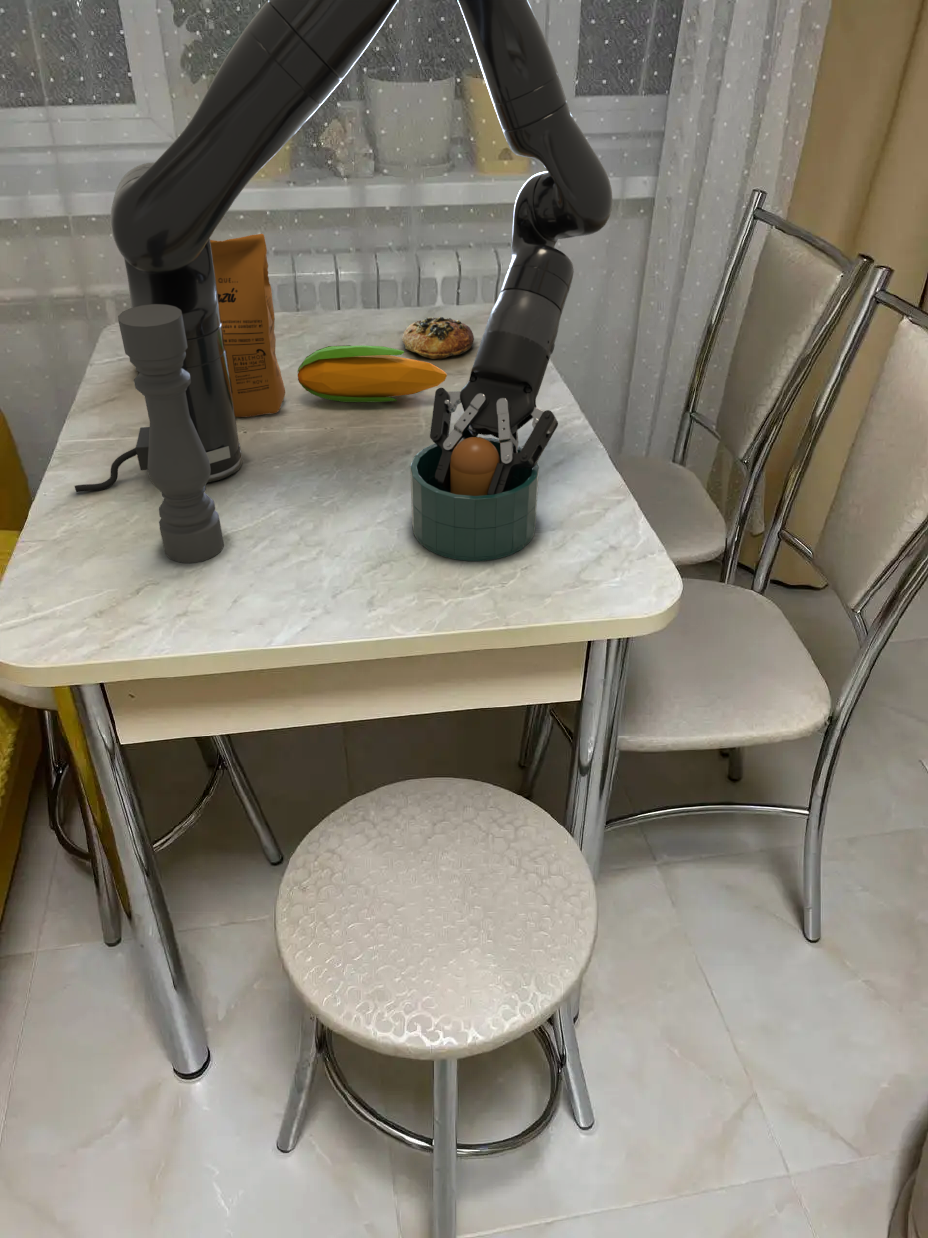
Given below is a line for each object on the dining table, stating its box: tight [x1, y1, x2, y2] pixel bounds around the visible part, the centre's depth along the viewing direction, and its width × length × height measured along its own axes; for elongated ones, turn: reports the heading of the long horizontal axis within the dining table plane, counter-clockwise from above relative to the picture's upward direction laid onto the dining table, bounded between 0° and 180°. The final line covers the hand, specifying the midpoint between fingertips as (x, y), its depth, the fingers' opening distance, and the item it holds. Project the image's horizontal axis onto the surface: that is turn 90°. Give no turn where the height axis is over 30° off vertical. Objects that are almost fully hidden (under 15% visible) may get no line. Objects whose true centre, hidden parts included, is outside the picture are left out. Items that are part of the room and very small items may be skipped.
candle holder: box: [117, 304, 225, 564], centre depth 96 cm, size 6×6×25 cm
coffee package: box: [210, 233, 286, 418], centre depth 125 cm, size 10×12×22 cm
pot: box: [409, 436, 540, 562], centre depth 105 cm, size 13×13×8 cm
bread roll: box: [401, 316, 475, 360], centre depth 147 cm, size 11×11×5 cm
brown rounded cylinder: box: [450, 436, 500, 496], centre depth 104 cm, size 5×5×10 cm
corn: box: [296, 344, 448, 403], centre depth 131 cm, size 7×8×20 cm
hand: (467, 493), depth 103 cm, fingers closed on brown rounded cylinder, 5 cm apart
